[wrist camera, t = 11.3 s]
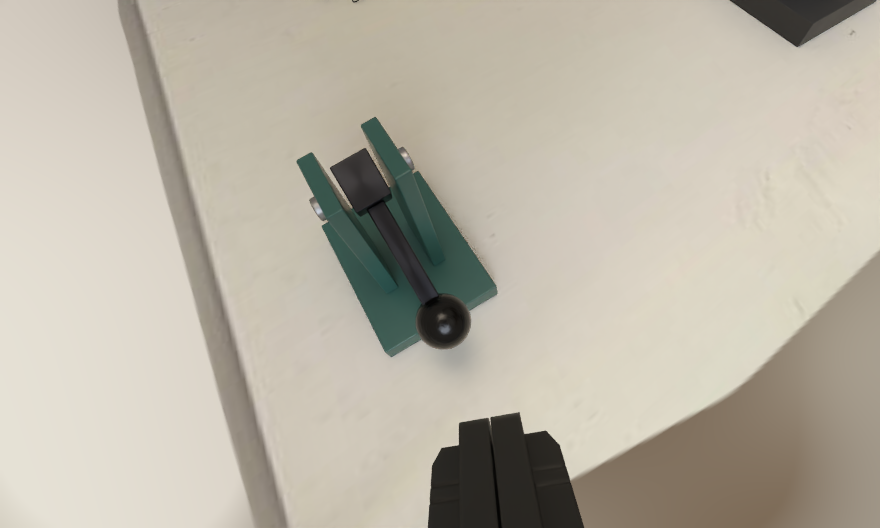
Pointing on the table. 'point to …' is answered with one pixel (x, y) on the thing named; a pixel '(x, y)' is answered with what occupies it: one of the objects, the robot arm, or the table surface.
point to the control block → (801, 15)
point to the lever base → (372, 259)
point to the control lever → (403, 253)
